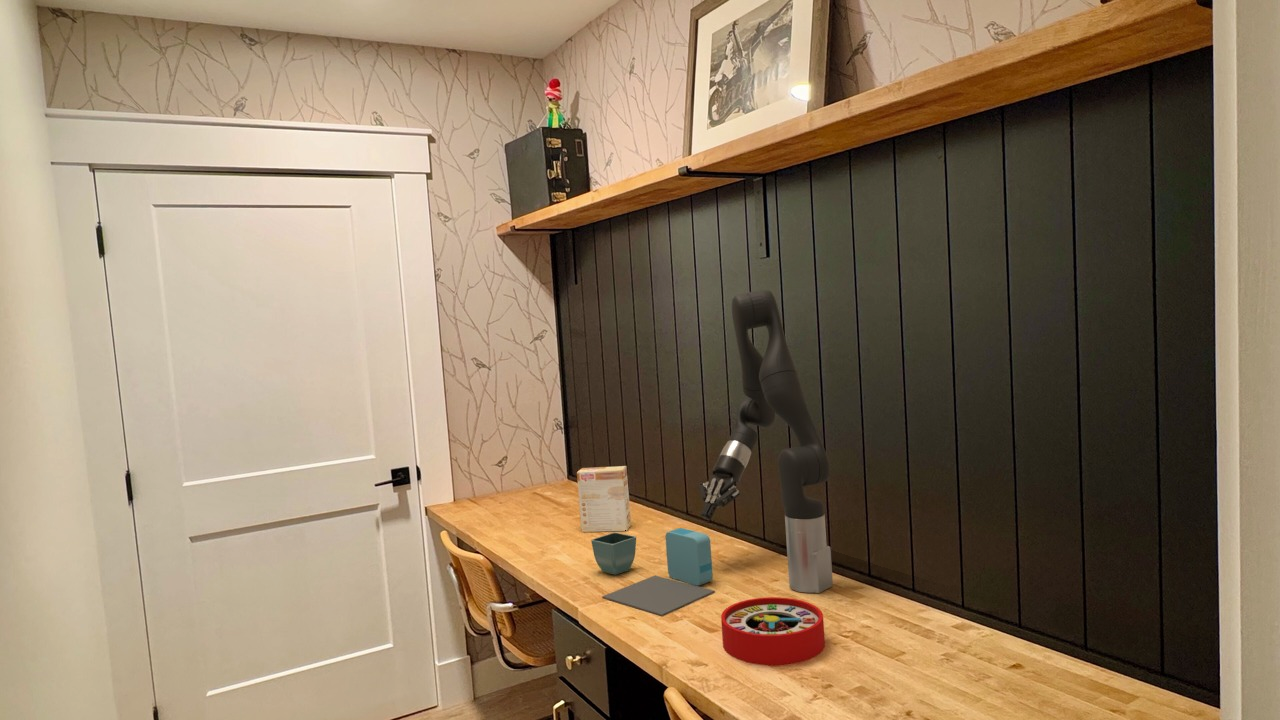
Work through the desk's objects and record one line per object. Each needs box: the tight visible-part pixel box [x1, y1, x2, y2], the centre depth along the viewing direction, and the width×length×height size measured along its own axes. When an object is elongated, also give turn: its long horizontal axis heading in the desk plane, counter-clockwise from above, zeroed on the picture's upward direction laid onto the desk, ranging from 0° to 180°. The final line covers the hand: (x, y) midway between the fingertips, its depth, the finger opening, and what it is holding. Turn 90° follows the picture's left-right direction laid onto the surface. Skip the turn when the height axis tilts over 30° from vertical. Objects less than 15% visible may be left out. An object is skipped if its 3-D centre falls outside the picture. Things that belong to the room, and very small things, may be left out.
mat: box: [601, 575, 716, 617], centre depth 188 cm, size 20×18×1 cm
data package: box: [665, 527, 714, 587], centre depth 197 cm, size 12×4×12 cm, turn 39°
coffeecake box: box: [576, 465, 632, 533], centre depth 251 cm, size 15×7×20 cm, turn 80°
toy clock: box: [720, 596, 826, 666], centre depth 156 cm, size 20×6×20 cm
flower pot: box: [590, 531, 637, 576], centre depth 208 cm, size 9×9×9 cm
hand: (705, 517), depth 202 cm, fingers closed
